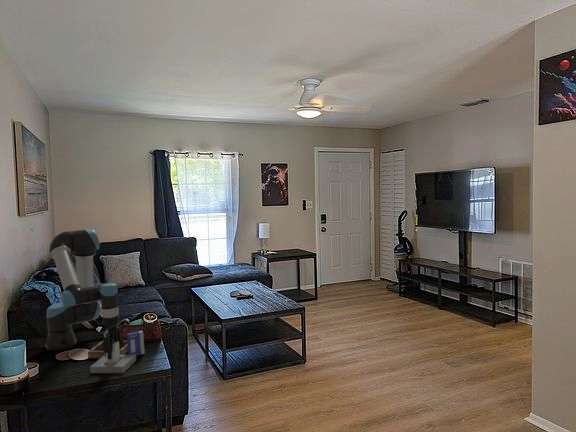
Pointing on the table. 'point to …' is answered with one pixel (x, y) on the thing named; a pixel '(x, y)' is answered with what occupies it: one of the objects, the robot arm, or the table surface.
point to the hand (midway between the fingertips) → (113, 362)
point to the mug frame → (98, 353)
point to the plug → (115, 352)
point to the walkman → (135, 343)
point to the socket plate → (113, 365)
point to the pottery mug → (121, 344)
